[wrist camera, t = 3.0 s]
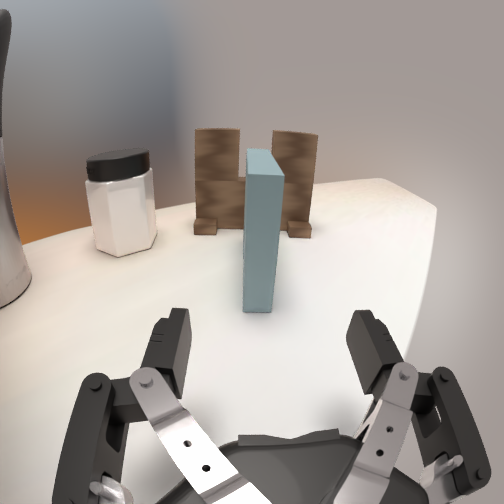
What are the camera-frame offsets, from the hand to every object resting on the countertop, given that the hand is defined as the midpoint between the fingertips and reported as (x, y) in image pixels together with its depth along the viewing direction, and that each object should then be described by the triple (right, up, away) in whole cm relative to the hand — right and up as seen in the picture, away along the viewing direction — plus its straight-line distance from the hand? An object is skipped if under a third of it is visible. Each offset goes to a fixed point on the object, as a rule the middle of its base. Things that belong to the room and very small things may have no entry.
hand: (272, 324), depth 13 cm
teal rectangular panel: (-1, +1, +17) cm, 17 cm away
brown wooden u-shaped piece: (-1, +7, +28) cm, 29 cm away
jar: (-18, +5, +22) cm, 29 cm away
